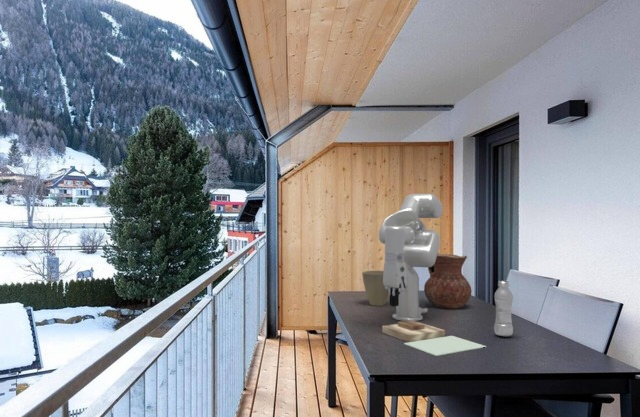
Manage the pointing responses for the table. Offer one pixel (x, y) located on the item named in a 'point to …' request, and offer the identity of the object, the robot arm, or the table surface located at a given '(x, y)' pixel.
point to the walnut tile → (411, 325)
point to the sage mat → (444, 345)
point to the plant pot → (375, 287)
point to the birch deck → (413, 333)
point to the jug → (447, 282)
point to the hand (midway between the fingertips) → (394, 305)
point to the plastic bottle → (503, 310)
